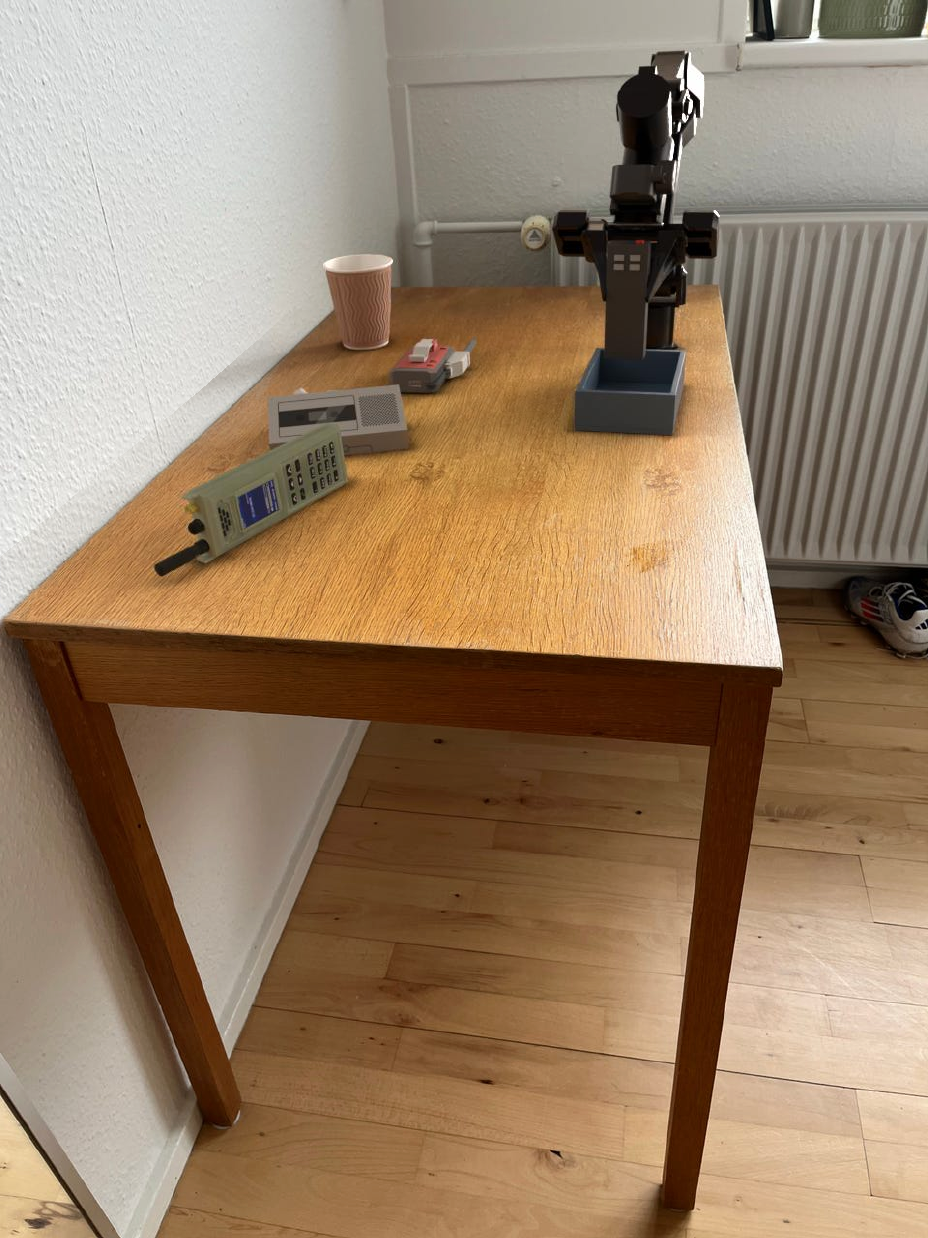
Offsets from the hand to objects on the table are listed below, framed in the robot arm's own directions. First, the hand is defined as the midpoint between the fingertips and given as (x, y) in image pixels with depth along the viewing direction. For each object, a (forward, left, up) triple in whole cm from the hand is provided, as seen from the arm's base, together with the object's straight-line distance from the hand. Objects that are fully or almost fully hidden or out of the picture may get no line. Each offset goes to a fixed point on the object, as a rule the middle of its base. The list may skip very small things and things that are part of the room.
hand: (625, 300), depth 109 cm
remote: (-1, -1, -7) cm, 7 cm away
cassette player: (+35, -1, -12) cm, 37 cm away
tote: (-2, -1, -13) cm, 14 cm away
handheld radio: (+46, +13, -14) cm, 50 cm away
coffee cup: (+22, -43, -14) cm, 50 cm away
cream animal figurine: (+34, -13, -14) cm, 39 cm away
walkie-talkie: (+16, -25, -14) cm, 33 cm away
